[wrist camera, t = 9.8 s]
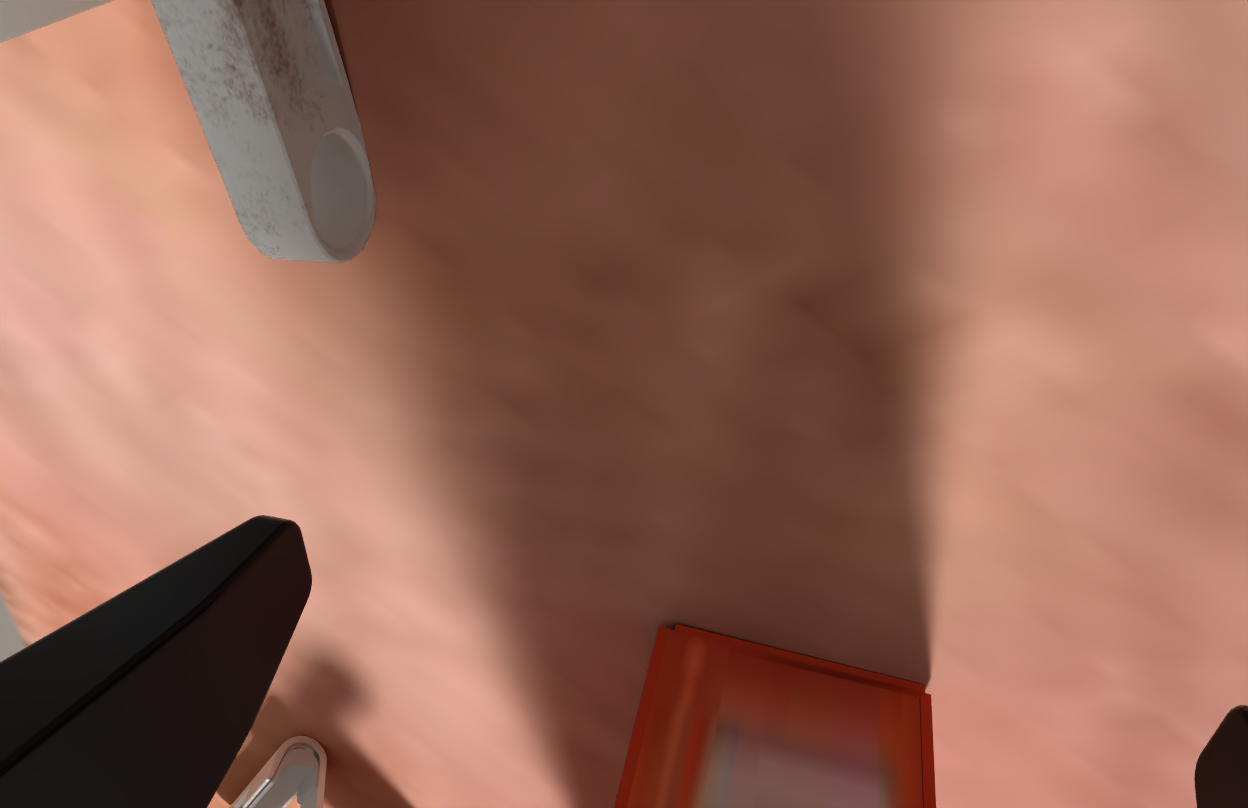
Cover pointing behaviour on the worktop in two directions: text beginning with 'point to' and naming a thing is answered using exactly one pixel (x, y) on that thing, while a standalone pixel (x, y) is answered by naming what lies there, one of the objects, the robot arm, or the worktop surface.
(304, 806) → the portable electronic device stand
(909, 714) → the file binder
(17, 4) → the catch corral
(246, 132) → the wrench
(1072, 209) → the worktop surface
